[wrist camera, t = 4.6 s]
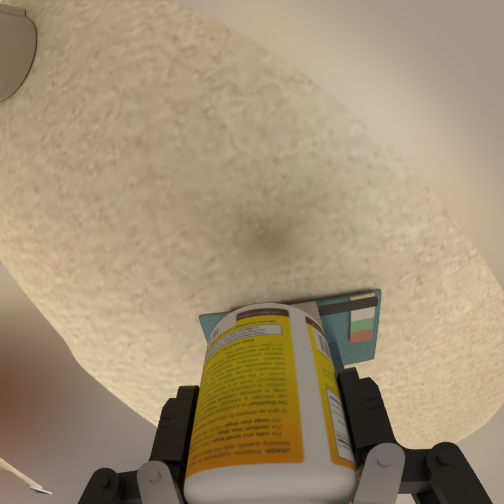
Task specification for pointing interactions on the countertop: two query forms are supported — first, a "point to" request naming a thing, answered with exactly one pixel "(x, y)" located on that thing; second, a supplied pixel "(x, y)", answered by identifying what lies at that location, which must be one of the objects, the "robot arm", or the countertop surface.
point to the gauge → (335, 329)
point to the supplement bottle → (269, 415)
